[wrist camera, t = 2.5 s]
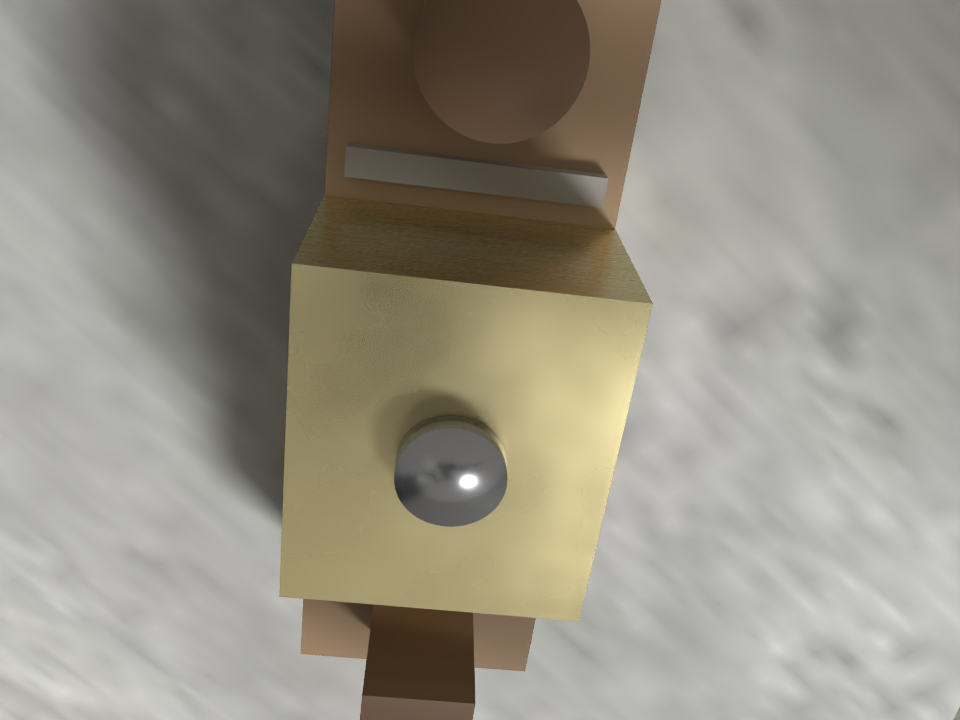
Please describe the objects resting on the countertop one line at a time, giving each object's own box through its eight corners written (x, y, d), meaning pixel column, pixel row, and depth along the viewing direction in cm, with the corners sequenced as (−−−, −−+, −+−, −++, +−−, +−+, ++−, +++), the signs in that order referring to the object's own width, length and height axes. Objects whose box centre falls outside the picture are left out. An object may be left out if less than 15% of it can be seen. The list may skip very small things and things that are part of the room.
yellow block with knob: (558, 504, 22) (583, 643, 17) (309, 481, 21) (273, 617, 17) (614, 229, 18) (660, 318, 14) (324, 194, 18) (285, 276, 14)
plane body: (516, 573, 28) (536, 803, 20) (321, 556, 27) (272, 786, 20) (634, -66, 20) (736, -56, 12) (362, -105, 19) (306, -119, 12)
